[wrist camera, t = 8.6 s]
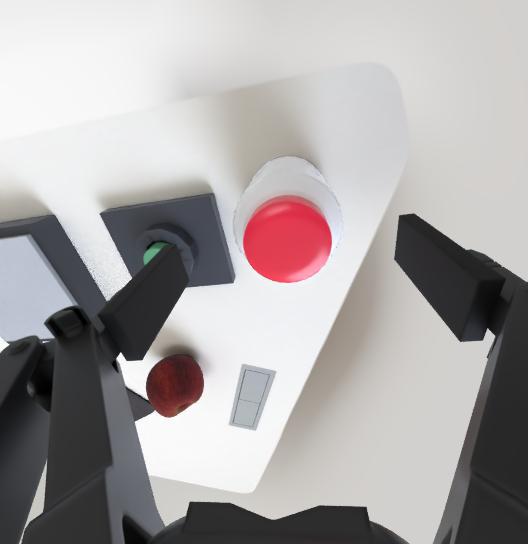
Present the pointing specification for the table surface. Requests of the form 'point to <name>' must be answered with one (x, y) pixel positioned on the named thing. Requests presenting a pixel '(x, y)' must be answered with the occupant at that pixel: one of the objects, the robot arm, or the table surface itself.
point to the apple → (174, 385)
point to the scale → (40, 278)
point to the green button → (153, 251)
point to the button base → (174, 236)
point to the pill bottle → (287, 220)
